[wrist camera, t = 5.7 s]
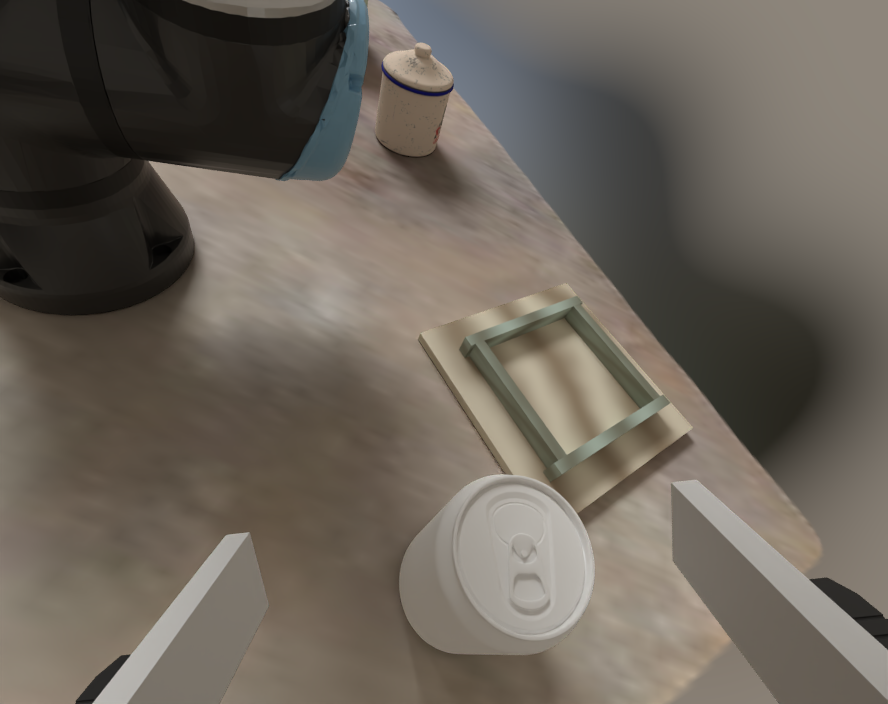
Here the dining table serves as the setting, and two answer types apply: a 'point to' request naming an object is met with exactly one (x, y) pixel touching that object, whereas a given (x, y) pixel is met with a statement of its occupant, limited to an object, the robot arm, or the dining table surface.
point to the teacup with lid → (412, 101)
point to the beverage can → (498, 570)
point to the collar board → (554, 393)
